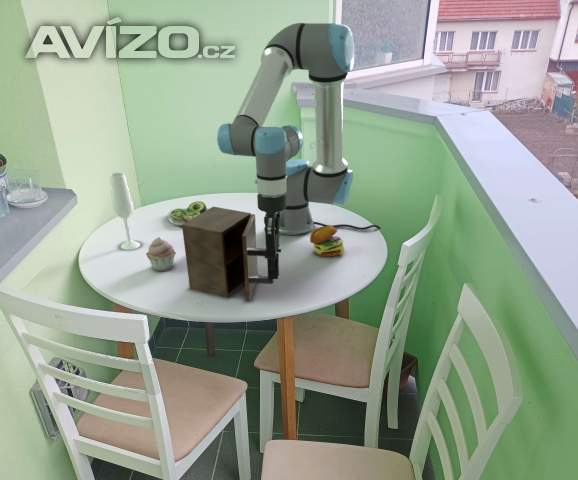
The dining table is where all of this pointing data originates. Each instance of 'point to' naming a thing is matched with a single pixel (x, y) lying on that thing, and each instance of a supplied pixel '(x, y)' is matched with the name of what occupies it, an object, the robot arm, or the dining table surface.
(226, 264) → the cupboard
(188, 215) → the plate of green donuts
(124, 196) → the champagne flute
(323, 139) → the robot arm
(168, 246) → the cupcake
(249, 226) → the cupboard door
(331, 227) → the cheeseburger
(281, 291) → the dining table surface
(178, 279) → the dining table surface
